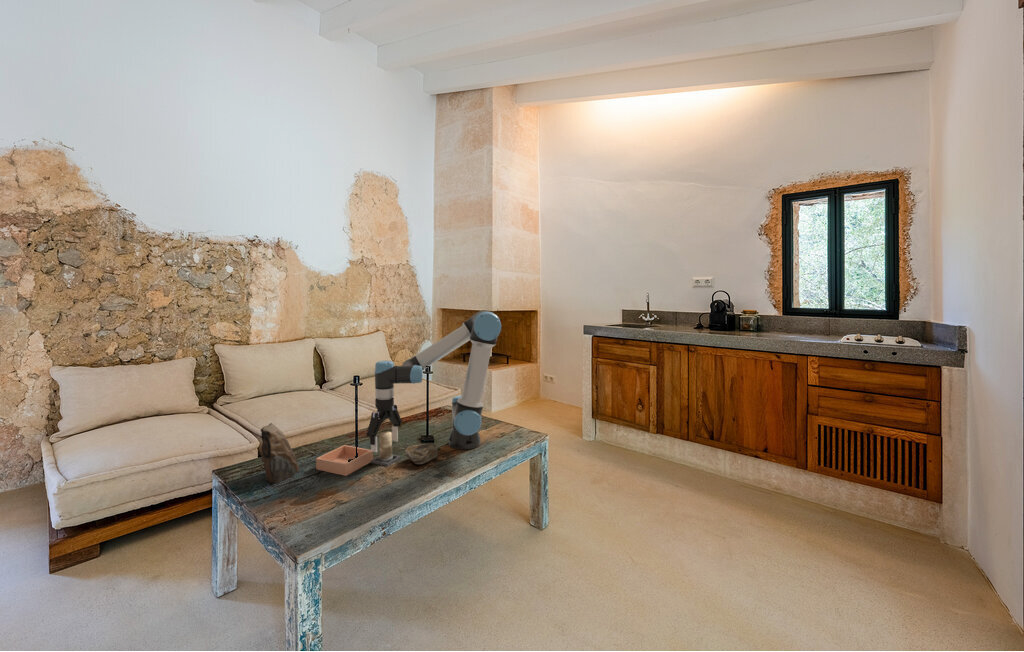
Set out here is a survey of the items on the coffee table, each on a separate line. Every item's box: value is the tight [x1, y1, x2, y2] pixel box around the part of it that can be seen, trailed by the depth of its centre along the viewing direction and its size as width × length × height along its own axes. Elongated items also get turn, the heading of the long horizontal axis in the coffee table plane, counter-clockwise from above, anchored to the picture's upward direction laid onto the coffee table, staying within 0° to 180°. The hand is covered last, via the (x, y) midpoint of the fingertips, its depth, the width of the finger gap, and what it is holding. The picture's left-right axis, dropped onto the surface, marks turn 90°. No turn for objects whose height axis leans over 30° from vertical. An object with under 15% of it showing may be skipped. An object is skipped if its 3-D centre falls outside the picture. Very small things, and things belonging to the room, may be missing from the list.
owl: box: [259, 422, 301, 484], centre depth 164 cm, size 13×13×20 cm
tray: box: [315, 444, 374, 477], centre depth 175 cm, size 16×16×5 cm
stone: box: [404, 442, 439, 465], centre depth 179 cm, size 14×10×10 cm
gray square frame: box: [370, 454, 402, 467], centre depth 180 cm, size 9×9×1 cm
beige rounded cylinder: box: [378, 431, 394, 463], centre depth 179 cm, size 6×6×12 cm
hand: (384, 446), depth 179 cm, fingers open, 13 cm apart
